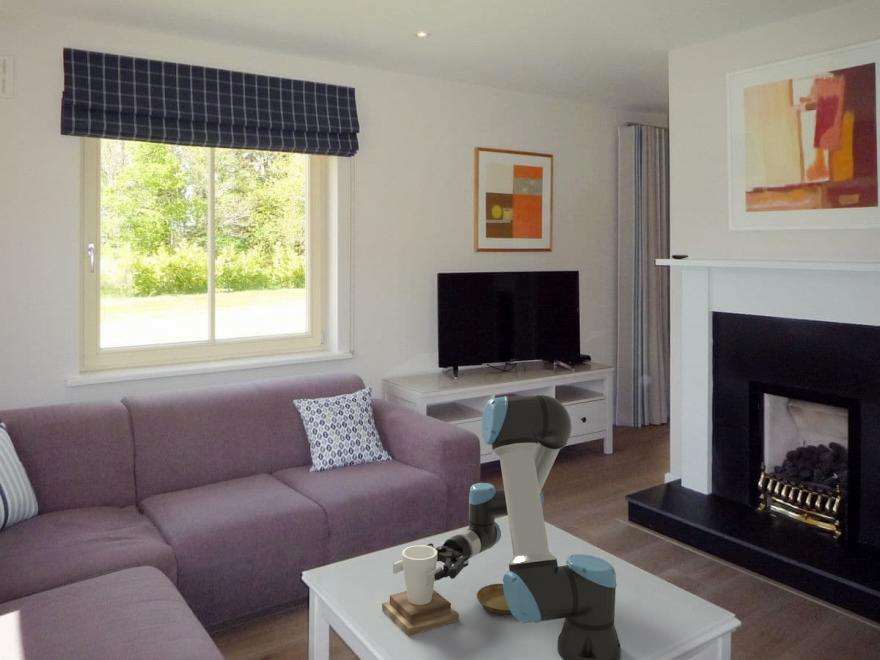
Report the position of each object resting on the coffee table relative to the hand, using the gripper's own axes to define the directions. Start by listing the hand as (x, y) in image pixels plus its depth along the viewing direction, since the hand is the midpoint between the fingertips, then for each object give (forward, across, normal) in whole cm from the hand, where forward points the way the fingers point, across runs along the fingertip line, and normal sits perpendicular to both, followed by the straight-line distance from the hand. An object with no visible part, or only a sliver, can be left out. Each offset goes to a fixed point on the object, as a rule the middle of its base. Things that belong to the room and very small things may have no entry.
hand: (409, 574), depth 189 cm
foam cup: (-4, 0, -9) cm, 10 cm away
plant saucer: (-24, -14, -14) cm, 31 cm away
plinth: (-4, 0, -13) cm, 14 cm away
